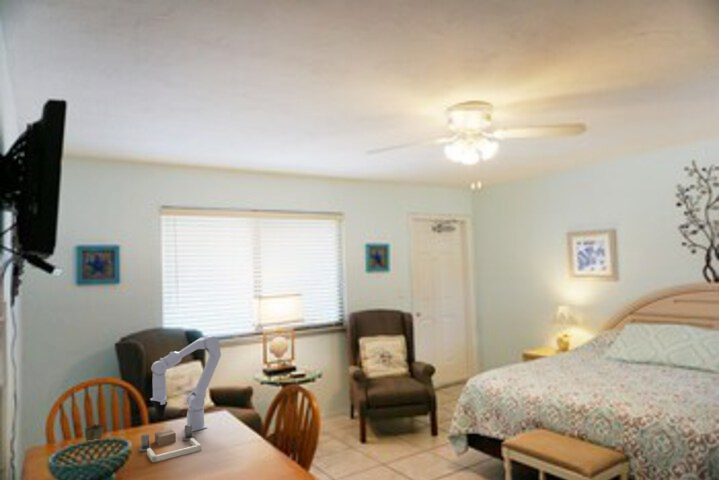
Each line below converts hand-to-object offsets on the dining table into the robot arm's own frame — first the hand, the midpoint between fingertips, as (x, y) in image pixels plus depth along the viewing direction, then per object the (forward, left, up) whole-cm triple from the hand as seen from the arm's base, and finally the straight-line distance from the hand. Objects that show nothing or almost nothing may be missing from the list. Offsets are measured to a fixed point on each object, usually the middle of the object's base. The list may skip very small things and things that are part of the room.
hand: (160, 417), depth 219 cm
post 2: (+14, +9, -8) cm, 19 cm away
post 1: (+14, -9, -8) cm, 19 cm away
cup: (-9, -26, -9) cm, 29 cm away
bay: (+26, 0, -8) cm, 27 cm away
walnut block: (+10, 0, -9) cm, 13 cm away
